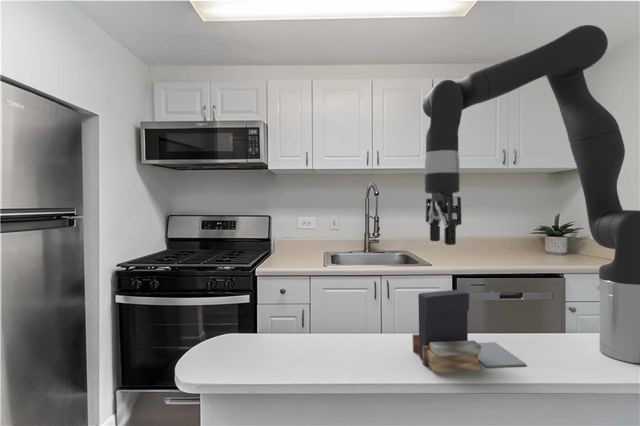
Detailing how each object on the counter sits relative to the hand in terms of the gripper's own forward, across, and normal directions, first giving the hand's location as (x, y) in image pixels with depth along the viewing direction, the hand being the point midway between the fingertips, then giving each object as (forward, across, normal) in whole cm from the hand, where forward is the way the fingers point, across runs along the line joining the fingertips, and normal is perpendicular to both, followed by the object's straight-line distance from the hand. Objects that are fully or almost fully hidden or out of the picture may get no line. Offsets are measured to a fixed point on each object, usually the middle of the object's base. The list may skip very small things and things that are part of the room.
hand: (442, 242), depth 78 cm
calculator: (+27, 0, 0) cm, 27 cm away
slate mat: (+26, 0, -12) cm, 29 cm away
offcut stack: (+27, -6, 0) cm, 27 cm away
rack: (+26, 0, 0) cm, 27 cm away
